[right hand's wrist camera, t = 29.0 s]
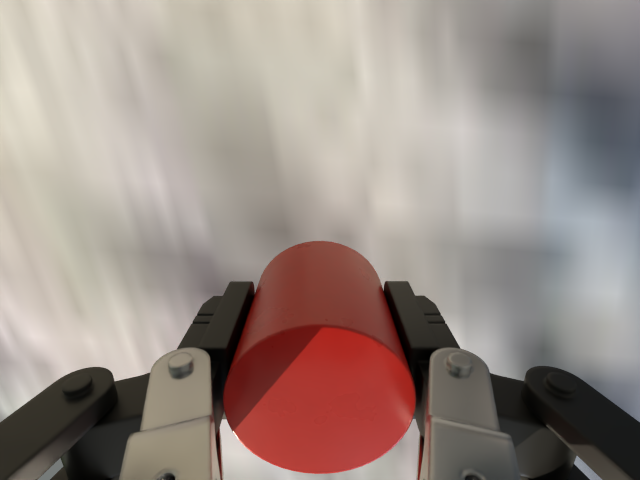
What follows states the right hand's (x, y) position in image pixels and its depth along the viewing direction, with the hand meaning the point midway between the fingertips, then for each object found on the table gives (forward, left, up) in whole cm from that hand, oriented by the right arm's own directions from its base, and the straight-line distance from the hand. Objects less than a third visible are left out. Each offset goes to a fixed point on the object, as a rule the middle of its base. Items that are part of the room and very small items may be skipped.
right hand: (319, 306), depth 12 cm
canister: (0, 0, 0) cm, 0 cm away
